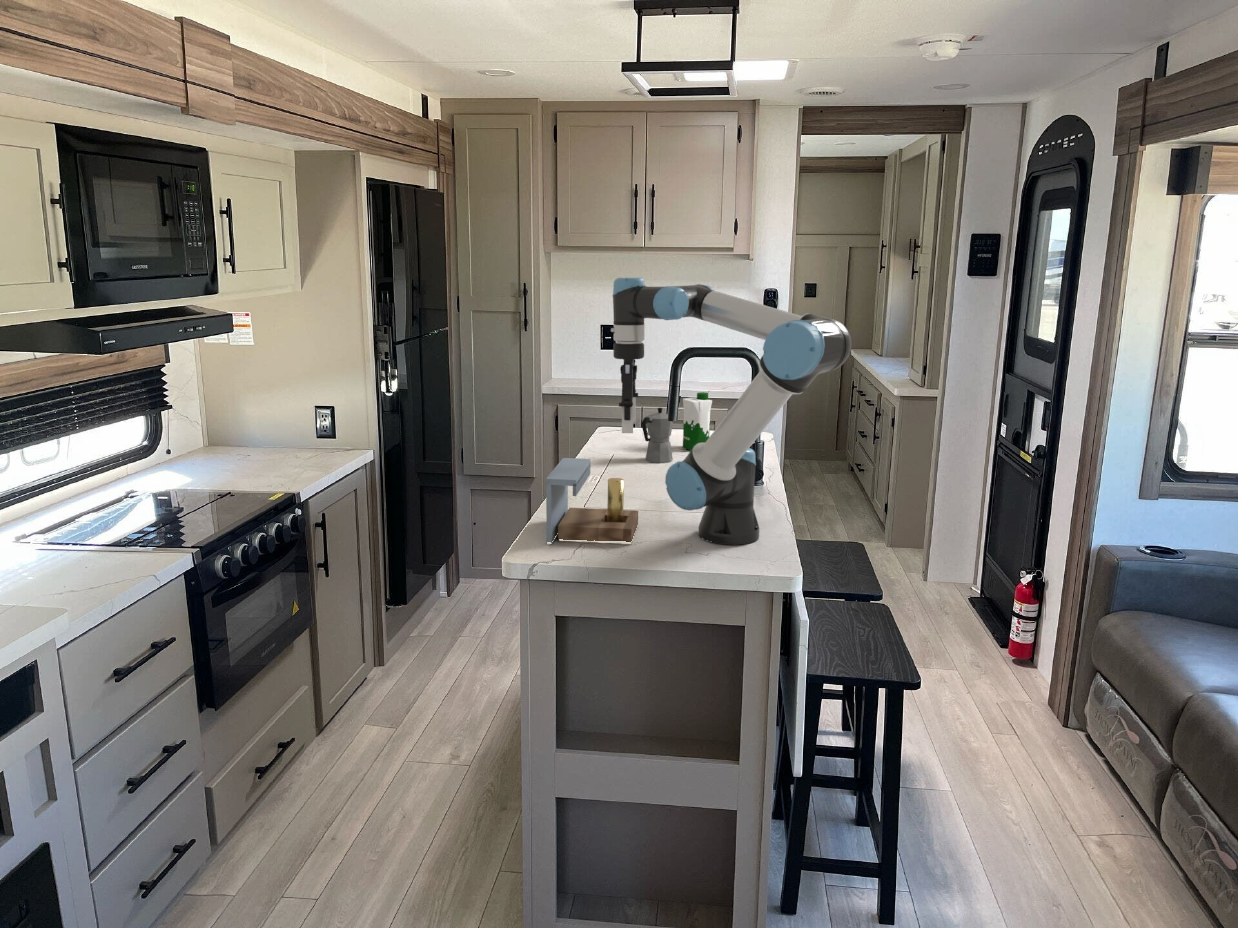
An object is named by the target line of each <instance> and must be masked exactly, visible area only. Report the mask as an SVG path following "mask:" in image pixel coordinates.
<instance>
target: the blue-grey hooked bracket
mask: <svg viewBox="0 0 1238 928" xmlns="http://www.w3.org/2000/svg"><path fill="white" fill-rule="evenodd" d="M590 475H591V458H577V457H576V458H571V457H563V458H562V459H561V460H560V461H559V462H558V464H557V465H556V466H555V468H553V470H552V471H551V472H550V473H549V474H548V476H547V477H546V478H545V491H546V492H545V494H546V495H545V497H546V499H545V500H546V502H545V504H546V506H545V507H546V508H545V510H546V512H545V513H546V517H545V518H546V519H545V520H546V543H547V542H551V543H552V541H553V540H554V538H555V536H556V535H557V533H558V525H559V523H560V522H561V520H562V519H563V517H564V515H565V514H566V512H567V511H568V509H569V493H568V492H569V487H572V497H577V496H578V494H579V492H580V491H581V489H582V488H583V486H584V484H585V483H586V481H587V480H588V478H589V477H590ZM554 541H555V540H554Z"/></svg>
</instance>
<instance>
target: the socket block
mask: <svg viewBox="0 0 1238 928" xmlns="http://www.w3.org/2000/svg"><path fill="white" fill-rule="evenodd" d="M637 525H638V526H639V510H637V509H635V510H628V509H623V523H620V522H607V508H592V507H591V508H589V507H588V508H587V507H568V511H567V512H566V514H565V515H564V517H563V519H562V520H561V522H560V523H559V525H558V536H557V540H558V539H563V540H587V541H594V540H595V541H626V542H631V541H632V539H633V540H634V538H633V536H634V537H635V535H634V533H635V531H636V532H637V530H636V528H637V529H638V527H637ZM635 534H636V533H635ZM632 542H633V541H632Z"/></svg>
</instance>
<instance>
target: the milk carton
mask: <svg viewBox="0 0 1238 928" xmlns="http://www.w3.org/2000/svg"><path fill="white" fill-rule="evenodd" d="M682 404H683V405H682V406H683V426H682V427H683V428H682V430H683V431H682V432H683V435H682V448H683V447H684V448H686V449H685V450H687V449H688V450H687V451H691V450H692V449H693V447H694V446H695V445H696V444H698V443H705V442H706V441H707V440H708V439H709V437H710V429H711V428H710V426H711V425H710V424H711V408H712V404H713V400H712V399H710V398H709V393H708V392H697V393H696V397H688V398H686V397H685V398H682ZM684 448H683V449H684Z"/></svg>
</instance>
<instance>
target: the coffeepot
mask: <svg viewBox="0 0 1238 928" xmlns="http://www.w3.org/2000/svg"><path fill="white" fill-rule="evenodd" d="M668 414H669V413H668ZM668 414H667V413H663V407H657V412H656V413H652V414H648V415H646V416H645V417H644V418H643V419H642V421H641V429H642V432H643V436H644V440H645V442H648V444H647V449H646V454H645V460H646V462H648V463H652V464H653V463H654V464H667V463H671V462H672V461H673V459H674V458H673V452H672V451H673V450H672V445H671V441H670V437H671V435H672V430H673V425H674V421H673V422H669V421H668Z"/></svg>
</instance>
